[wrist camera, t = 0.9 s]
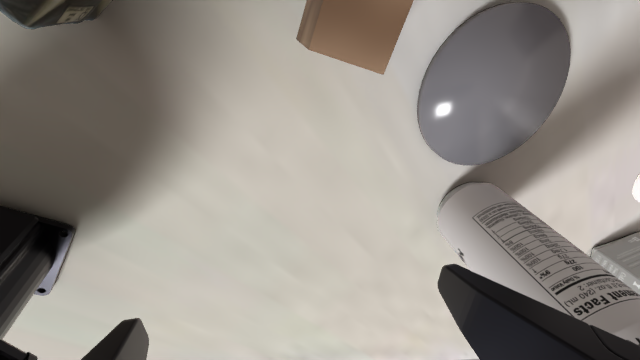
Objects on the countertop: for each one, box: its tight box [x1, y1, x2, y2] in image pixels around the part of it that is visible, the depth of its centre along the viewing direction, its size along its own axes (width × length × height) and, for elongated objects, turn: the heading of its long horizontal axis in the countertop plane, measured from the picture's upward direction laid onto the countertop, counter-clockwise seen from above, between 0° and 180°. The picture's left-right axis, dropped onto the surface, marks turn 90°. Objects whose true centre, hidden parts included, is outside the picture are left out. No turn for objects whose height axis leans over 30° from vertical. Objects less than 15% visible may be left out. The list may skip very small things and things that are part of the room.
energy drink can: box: [437, 182, 640, 346], centre depth 21 cm, size 6×6×15 cm
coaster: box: [417, 3, 570, 165], centre depth 22 cm, size 11×11×1 cm
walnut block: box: [296, 0, 413, 74], centre depth 16 cm, size 4×4×4 cm
